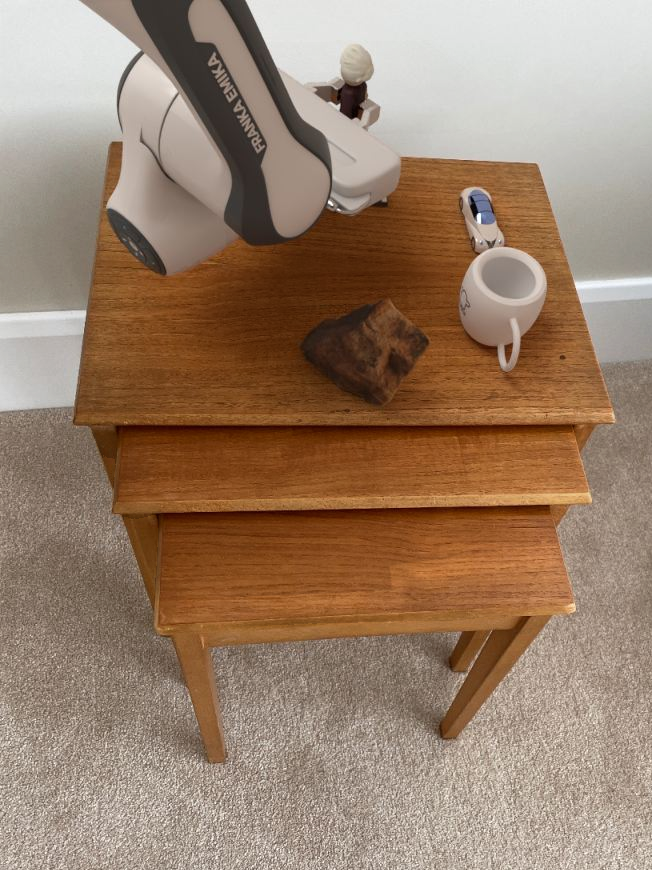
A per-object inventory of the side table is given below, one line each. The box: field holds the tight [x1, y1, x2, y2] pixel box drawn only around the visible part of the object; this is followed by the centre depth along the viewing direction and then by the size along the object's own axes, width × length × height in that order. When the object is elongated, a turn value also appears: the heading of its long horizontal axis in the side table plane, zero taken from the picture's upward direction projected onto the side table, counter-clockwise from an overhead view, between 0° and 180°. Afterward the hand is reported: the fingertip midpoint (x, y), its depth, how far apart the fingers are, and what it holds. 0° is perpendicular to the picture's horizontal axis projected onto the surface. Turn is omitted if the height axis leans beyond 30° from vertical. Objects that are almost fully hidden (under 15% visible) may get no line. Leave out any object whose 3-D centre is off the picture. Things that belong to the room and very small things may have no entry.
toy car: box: [458, 186, 505, 254], centre depth 88 cm, size 4×12×3 cm, turn 10°
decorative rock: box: [299, 297, 432, 408], centre depth 74 cm, size 12×6×11 cm, turn 57°
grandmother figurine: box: [338, 43, 375, 120], centre depth 80 cm, size 8×4×13 cm, turn 173°
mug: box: [458, 246, 548, 373], centre depth 80 cm, size 12×8×8 cm
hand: (358, 97), depth 79 cm, fingers closed on grandmother figurine, 3 cm apart
